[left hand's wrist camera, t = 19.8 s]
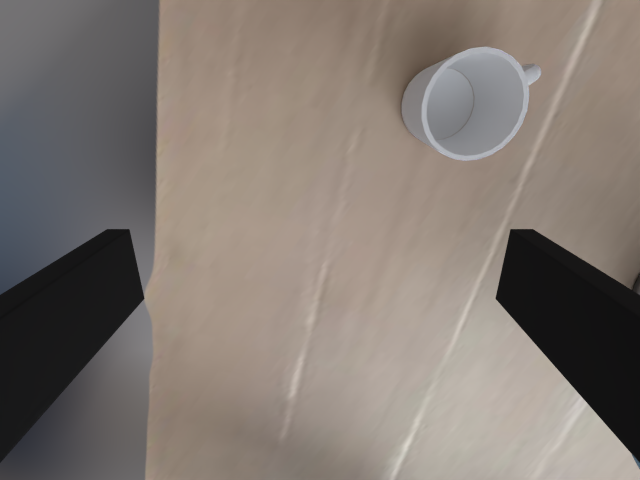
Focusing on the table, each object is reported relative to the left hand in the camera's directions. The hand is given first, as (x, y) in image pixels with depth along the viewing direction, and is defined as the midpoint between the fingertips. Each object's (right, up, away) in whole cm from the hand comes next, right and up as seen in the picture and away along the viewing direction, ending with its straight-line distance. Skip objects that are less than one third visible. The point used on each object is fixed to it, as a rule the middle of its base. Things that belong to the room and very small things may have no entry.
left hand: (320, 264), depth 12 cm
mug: (+14, +16, +27) cm, 34 cm away
